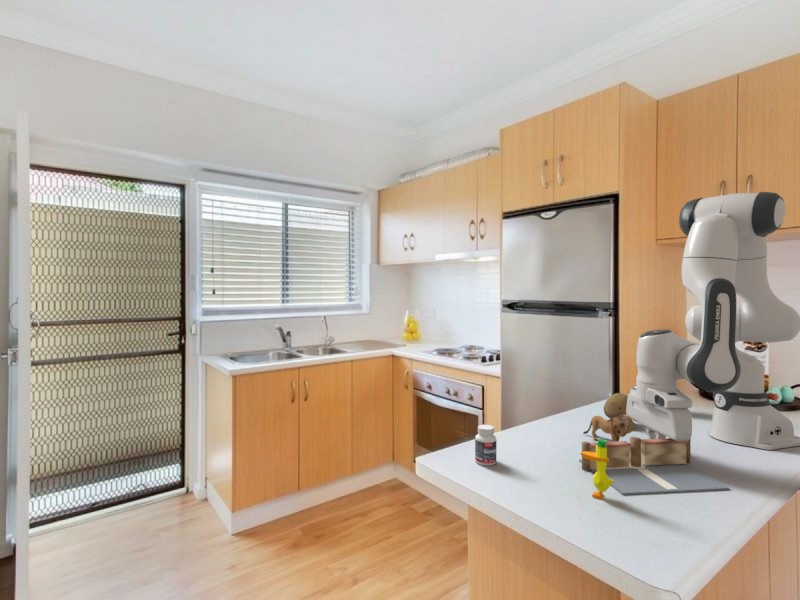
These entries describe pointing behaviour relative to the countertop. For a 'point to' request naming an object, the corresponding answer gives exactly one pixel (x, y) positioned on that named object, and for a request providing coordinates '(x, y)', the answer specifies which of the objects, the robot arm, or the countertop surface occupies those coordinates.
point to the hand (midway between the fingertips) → (655, 446)
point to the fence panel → (664, 451)
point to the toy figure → (599, 468)
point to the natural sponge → (616, 405)
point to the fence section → (615, 454)
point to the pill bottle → (485, 445)
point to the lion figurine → (612, 426)
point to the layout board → (660, 479)
